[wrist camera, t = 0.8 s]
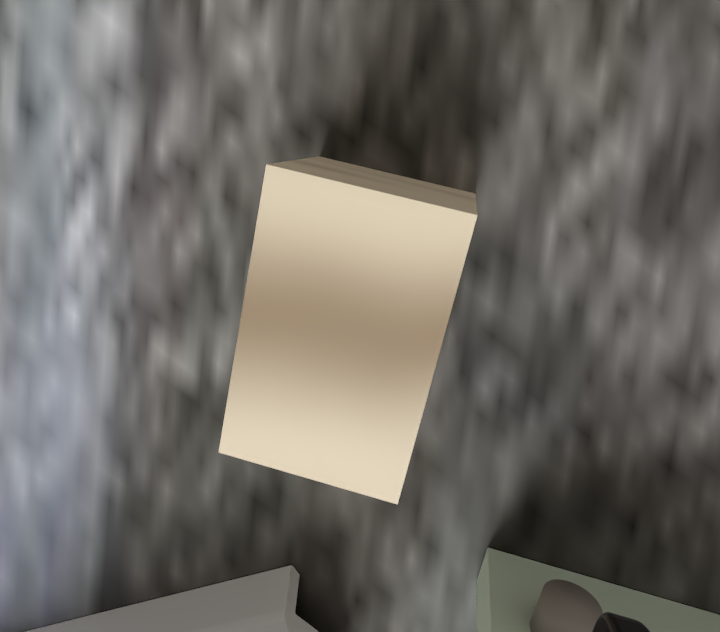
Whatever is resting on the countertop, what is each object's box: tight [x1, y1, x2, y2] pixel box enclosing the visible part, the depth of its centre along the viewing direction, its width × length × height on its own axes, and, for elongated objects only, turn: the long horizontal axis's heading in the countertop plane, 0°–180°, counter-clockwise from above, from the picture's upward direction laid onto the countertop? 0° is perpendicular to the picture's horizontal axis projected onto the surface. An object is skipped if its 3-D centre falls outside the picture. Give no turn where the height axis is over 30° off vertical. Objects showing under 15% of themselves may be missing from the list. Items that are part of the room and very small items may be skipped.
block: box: [219, 156, 478, 504], centre depth 16 cm, size 7×4×5 cm, turn 168°
